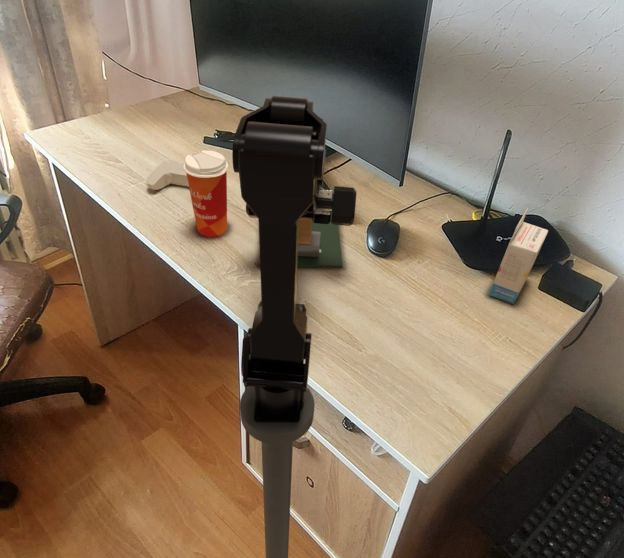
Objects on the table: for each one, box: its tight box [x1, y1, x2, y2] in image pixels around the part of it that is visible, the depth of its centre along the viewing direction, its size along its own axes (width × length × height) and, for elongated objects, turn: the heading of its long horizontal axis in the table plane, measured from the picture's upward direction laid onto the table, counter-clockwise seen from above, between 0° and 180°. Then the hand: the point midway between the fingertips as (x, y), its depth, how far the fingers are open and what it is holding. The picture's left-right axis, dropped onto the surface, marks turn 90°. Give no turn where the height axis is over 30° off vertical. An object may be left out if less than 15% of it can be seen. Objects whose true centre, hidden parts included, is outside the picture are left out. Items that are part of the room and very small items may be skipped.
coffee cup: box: [183, 149, 229, 238], centre depth 101 cm, size 8×8×15 cm
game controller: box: [146, 160, 189, 191], centre depth 116 cm, size 14×4×10 cm
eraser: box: [298, 218, 321, 257], centre depth 98 cm, size 5×7×14 cm
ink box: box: [488, 207, 549, 305], centre depth 93 cm, size 8×5×15 cm, turn 150°
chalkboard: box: [258, 199, 344, 269], centre depth 108 cm, size 24×16×1 cm, turn 2°
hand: (303, 214), depth 98 cm, fingers closed on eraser, 3 cm apart
